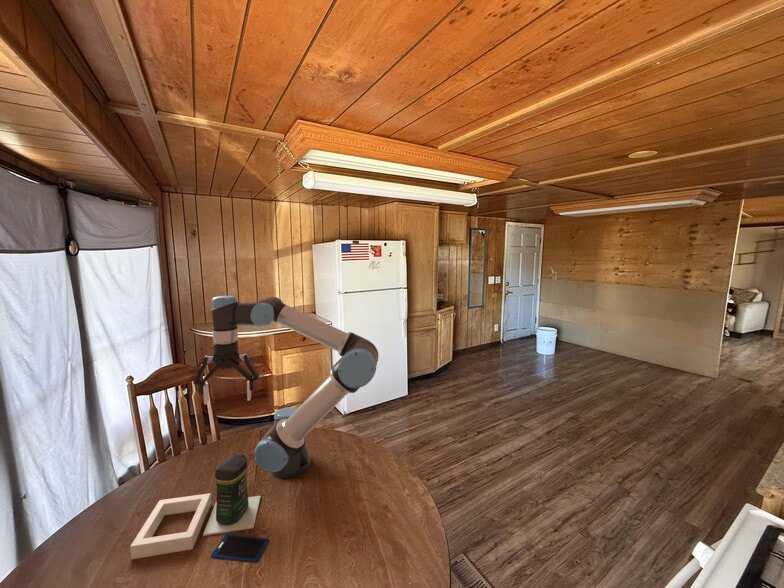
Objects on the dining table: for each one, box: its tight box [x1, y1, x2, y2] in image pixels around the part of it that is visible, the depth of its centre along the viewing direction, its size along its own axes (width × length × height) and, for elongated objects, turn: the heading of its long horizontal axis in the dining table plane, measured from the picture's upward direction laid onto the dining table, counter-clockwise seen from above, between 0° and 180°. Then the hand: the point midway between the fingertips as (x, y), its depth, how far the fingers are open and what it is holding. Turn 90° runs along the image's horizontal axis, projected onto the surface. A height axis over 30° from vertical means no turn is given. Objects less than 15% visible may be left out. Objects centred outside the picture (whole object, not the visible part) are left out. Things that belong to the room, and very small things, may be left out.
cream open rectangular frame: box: [129, 492, 212, 560], centre depth 98 cm, size 15×17×4 cm
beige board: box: [202, 495, 262, 537], centre depth 103 cm, size 14×13×1 cm
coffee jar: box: [214, 453, 249, 525], centre depth 102 cm, size 10×8×19 cm
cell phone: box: [210, 534, 270, 564], centre depth 92 cm, size 7×14×1 cm, turn 85°
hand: (228, 400), depth 112 cm, fingers open, 13 cm apart
